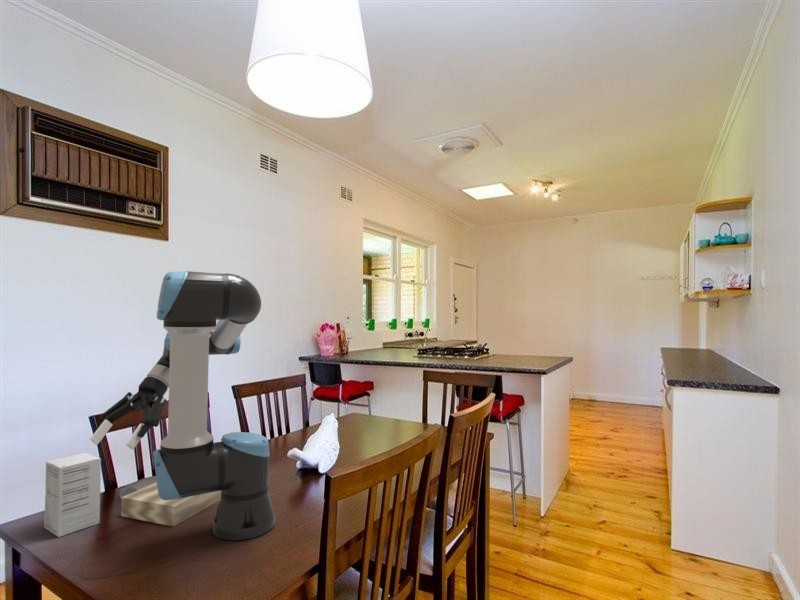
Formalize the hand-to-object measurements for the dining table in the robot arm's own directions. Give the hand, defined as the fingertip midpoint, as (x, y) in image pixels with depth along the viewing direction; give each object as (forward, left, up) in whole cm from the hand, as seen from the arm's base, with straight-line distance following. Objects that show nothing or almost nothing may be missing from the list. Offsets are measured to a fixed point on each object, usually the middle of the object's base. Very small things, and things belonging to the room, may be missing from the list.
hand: (111, 444), depth 124 cm
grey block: (+1, -12, -18) cm, 22 cm away
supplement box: (0, +10, -18) cm, 21 cm away
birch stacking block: (-16, -7, -18) cm, 25 cm away
